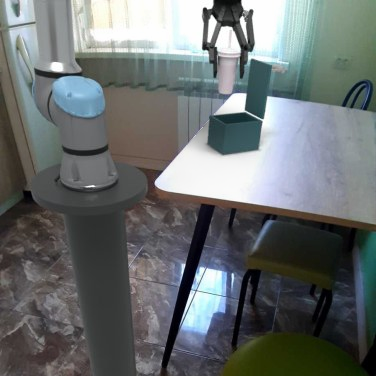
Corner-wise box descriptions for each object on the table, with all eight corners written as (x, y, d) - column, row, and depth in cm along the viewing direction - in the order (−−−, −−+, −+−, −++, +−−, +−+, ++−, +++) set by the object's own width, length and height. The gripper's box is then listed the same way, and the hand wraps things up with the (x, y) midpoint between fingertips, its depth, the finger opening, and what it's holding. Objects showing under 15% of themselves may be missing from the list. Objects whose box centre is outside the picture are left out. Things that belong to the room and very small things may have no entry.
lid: (270, 65, 120) (292, 64, 122) (250, 58, 126) (272, 57, 129) (261, 119, 129) (282, 117, 132) (244, 110, 136) (264, 108, 139)
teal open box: (222, 154, 131) (225, 125, 125) (207, 144, 138) (209, 115, 132) (258, 149, 136) (262, 120, 130) (241, 139, 143) (245, 111, 137)
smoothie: (237, 90, 116) (244, 29, 106) (235, 96, 111) (242, 32, 102) (215, 88, 117) (219, 27, 107) (212, 94, 112) (216, 31, 102)
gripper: (259, 3, 113) (261, 85, 112) (189, 0, 112) (191, 83, 111) (266, -22, 106) (268, 66, 105) (191, -25, 104) (193, 64, 104)
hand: (228, 74), depth 108 cm, fingers closed on smoothie, 6 cm apart
